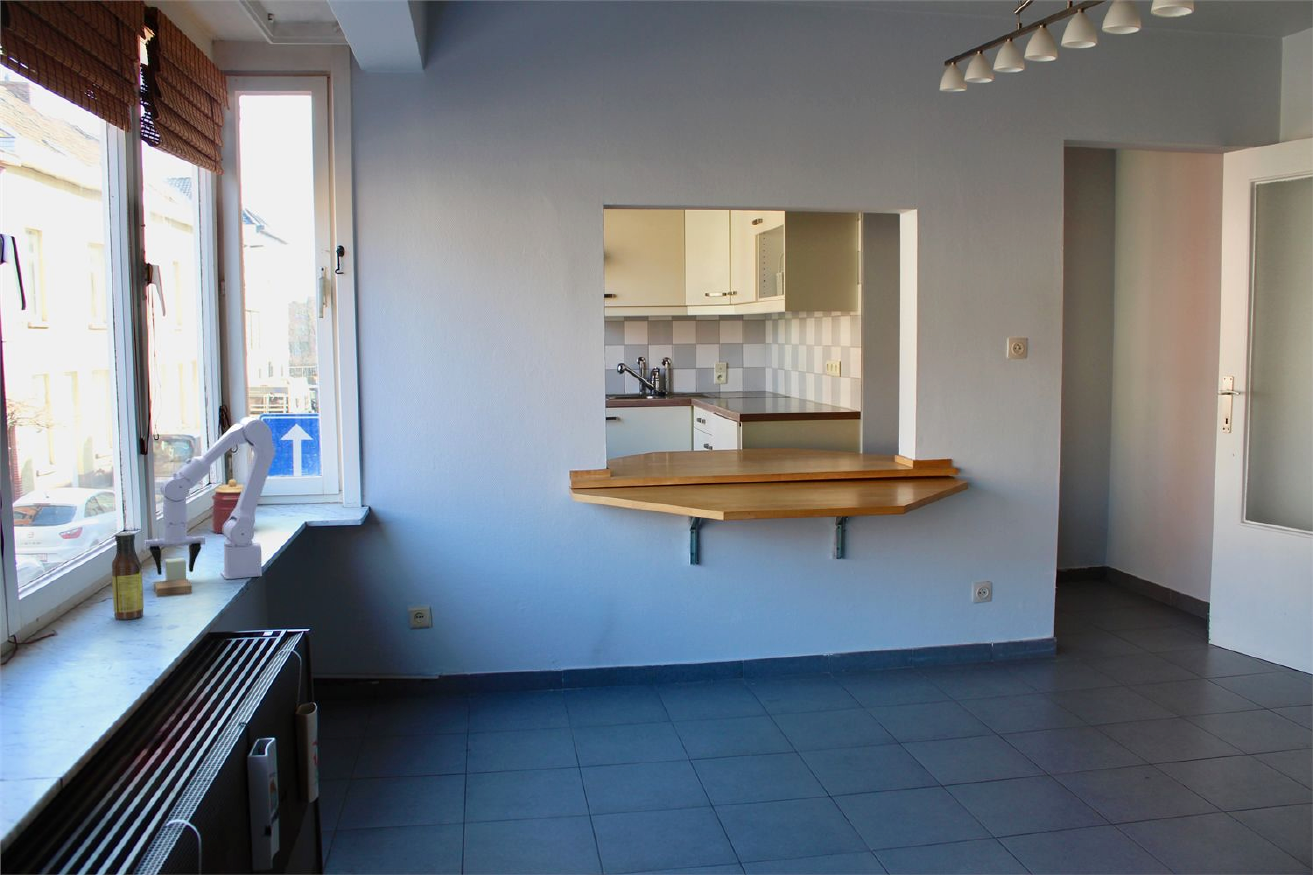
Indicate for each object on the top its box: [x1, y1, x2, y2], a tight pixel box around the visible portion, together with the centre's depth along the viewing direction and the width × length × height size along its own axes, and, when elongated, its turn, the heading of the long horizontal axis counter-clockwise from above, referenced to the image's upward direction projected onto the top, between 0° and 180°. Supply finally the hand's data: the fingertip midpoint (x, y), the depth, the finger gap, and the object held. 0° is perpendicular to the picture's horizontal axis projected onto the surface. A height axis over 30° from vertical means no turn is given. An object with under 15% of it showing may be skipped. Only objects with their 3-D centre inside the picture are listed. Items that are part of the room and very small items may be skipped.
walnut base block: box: [153, 578, 193, 597], centre depth 260 cm, size 8×8×2 cm
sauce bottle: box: [111, 531, 144, 620], centre depth 235 cm, size 6×6×20 cm
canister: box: [211, 478, 244, 535], centre depth 340 cm, size 13×13×18 cm
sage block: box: [164, 557, 187, 581], centre depth 270 cm, size 4×4×6 cm
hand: (175, 572), depth 270 cm, fingers open, 7 cm apart
